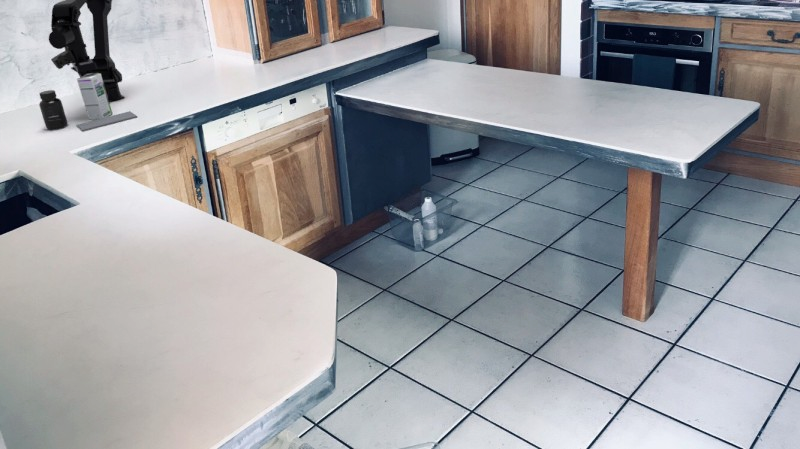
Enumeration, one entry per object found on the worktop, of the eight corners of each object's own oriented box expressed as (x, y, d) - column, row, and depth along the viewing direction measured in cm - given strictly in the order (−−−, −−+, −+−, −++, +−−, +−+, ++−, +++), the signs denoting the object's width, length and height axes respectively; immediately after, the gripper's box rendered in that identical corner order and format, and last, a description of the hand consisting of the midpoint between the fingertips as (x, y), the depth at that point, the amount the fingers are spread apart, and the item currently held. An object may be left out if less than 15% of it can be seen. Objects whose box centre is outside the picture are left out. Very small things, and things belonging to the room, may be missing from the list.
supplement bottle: (54, 131, 240) (43, 96, 235) (42, 129, 243) (31, 94, 238) (72, 124, 245) (62, 89, 240) (60, 122, 248) (49, 88, 243)
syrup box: (103, 119, 247) (91, 77, 241) (88, 119, 248) (76, 78, 242) (112, 114, 252) (101, 72, 246) (97, 114, 253) (85, 73, 247)
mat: (76, 126, 243) (76, 124, 243) (130, 112, 252) (129, 111, 251) (82, 131, 237) (82, 130, 237) (137, 117, 246) (137, 115, 245)
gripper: (43, 43, 248) (57, 88, 255) (55, 50, 234) (69, 97, 241) (77, 36, 254) (89, 80, 261) (90, 43, 240) (103, 89, 246)
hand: (87, 87), depth 252 cm, fingers closed
